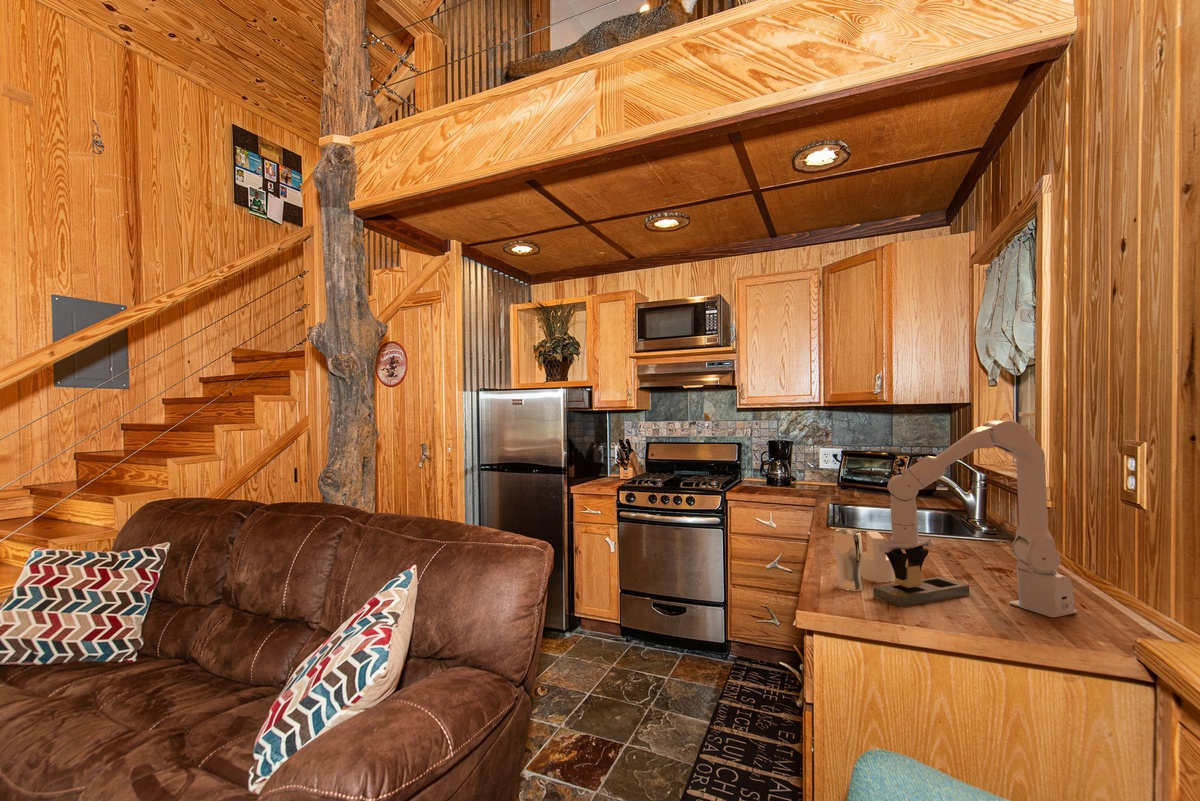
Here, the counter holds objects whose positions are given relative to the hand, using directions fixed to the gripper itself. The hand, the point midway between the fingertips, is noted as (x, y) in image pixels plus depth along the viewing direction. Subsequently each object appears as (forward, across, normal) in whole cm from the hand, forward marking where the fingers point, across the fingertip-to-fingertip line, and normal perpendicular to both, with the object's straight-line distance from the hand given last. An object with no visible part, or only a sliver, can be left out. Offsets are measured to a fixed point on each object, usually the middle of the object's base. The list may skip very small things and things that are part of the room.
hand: (907, 577), depth 131 cm
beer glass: (+5, +7, -12) cm, 15 cm away
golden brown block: (+2, 0, 0) cm, 2 cm away
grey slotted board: (+5, -4, 0) cm, 6 cm away
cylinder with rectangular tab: (+5, -6, -16) cm, 18 cm away
